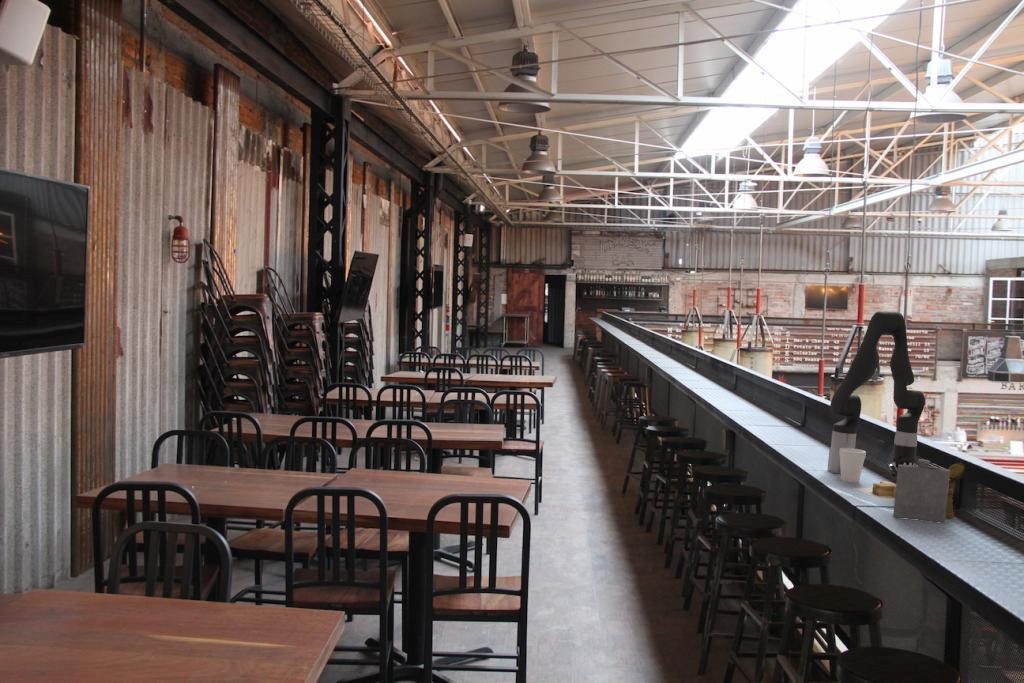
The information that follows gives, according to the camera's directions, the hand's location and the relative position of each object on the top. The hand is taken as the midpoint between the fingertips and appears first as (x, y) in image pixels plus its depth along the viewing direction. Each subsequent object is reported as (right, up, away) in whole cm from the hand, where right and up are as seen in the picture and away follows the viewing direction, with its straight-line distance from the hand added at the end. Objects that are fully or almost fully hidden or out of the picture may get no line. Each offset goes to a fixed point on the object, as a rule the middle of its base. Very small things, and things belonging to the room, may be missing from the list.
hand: (901, 489), depth 295 cm
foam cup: (-11, -1, +19) cm, 22 cm away
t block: (-6, -1, -1) cm, 6 cm away
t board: (-6, -2, -1) cm, 6 cm away
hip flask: (-10, -4, -31) cm, 33 cm away
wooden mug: (+3, -5, -22) cm, 23 cm away
